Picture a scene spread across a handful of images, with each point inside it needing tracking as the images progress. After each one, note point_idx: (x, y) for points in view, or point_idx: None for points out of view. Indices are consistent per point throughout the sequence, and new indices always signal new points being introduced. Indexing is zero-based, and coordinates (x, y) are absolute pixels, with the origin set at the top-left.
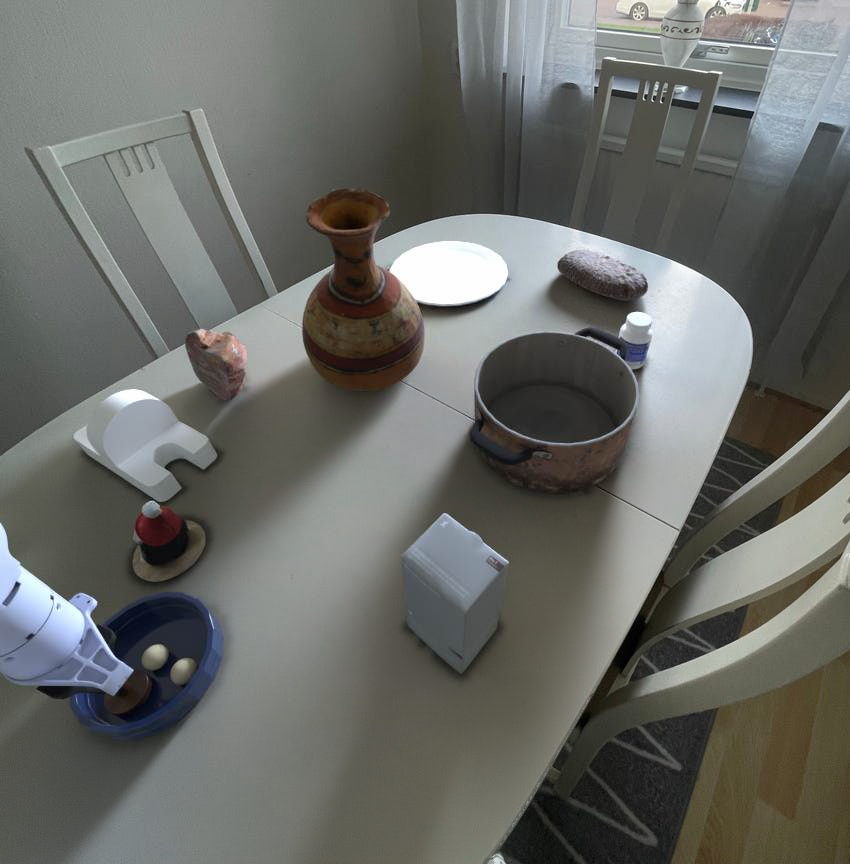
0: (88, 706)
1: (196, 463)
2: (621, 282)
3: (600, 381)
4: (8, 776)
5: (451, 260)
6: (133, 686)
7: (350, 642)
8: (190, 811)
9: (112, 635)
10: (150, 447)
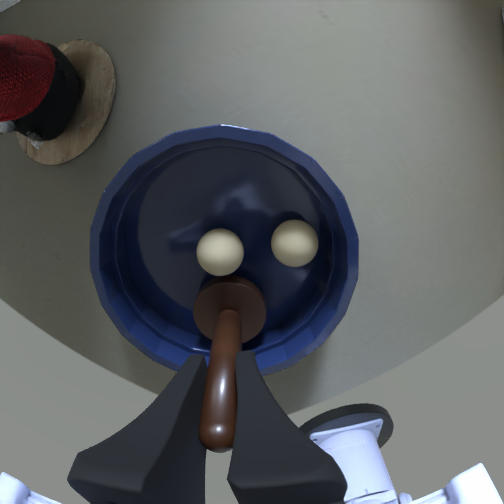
0: (194, 350)
1: (5, 4)
2: None
3: None
4: None
5: None
6: (234, 305)
7: (471, 91)
8: (401, 336)
9: (337, 480)
10: None
